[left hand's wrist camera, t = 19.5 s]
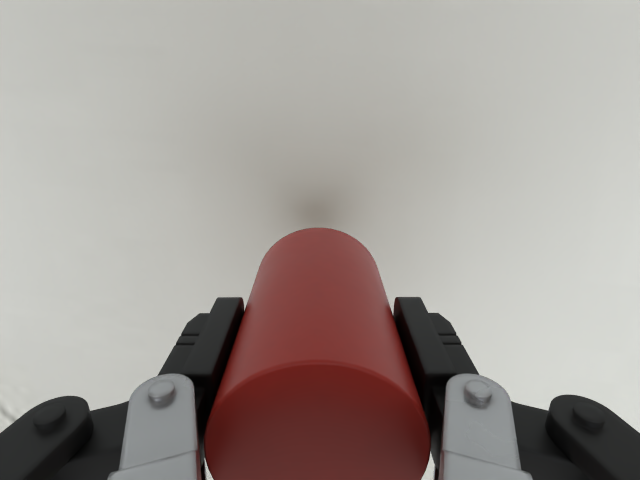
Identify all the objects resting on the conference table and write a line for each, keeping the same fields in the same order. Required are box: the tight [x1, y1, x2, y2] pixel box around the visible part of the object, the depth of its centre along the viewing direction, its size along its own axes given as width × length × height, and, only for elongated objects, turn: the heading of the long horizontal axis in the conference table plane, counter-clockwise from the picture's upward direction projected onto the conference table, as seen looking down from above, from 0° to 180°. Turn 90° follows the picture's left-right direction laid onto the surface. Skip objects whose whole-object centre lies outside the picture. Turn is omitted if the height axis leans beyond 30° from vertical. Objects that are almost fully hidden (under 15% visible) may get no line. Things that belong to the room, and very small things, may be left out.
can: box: [204, 228, 431, 480], centre depth 11 cm, size 5×5×8 cm
